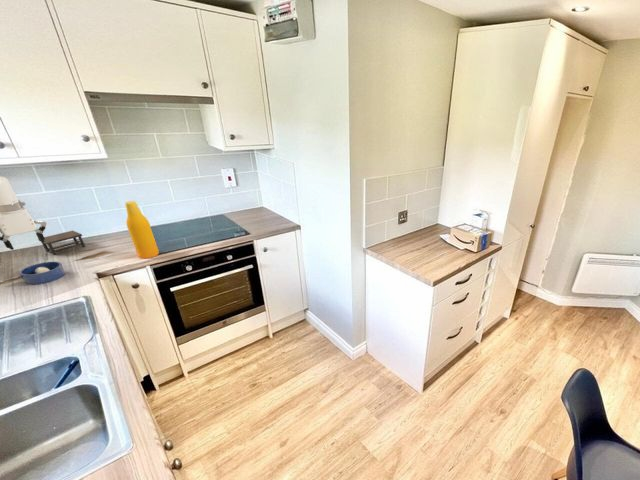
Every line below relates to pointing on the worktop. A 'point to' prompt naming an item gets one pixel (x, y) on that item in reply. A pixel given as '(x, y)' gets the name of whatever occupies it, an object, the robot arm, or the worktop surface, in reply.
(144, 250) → the beer bottle
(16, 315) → the worktop surface
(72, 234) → the stand
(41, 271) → the potato
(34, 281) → the bowl
